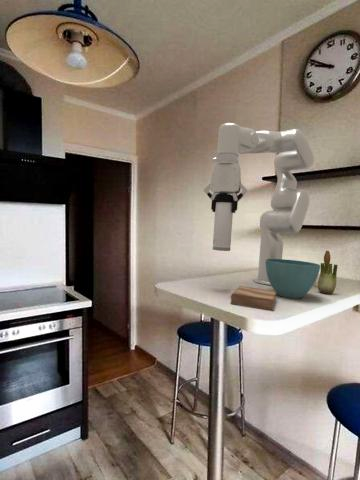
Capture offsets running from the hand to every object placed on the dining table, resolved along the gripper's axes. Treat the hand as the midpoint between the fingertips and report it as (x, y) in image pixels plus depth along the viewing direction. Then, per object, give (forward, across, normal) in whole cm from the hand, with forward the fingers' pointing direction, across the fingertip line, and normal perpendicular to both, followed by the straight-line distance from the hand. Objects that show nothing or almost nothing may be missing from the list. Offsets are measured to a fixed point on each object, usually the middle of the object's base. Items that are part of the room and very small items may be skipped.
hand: (223, 211), depth 102 cm
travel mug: (+14, 0, 0) cm, 14 cm away
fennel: (+29, +38, +39) cm, 61 cm away
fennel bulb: (+29, +37, +24) cm, 52 cm away
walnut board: (+28, +14, -8) cm, 33 cm away
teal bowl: (+29, +24, +10) cm, 39 cm away
